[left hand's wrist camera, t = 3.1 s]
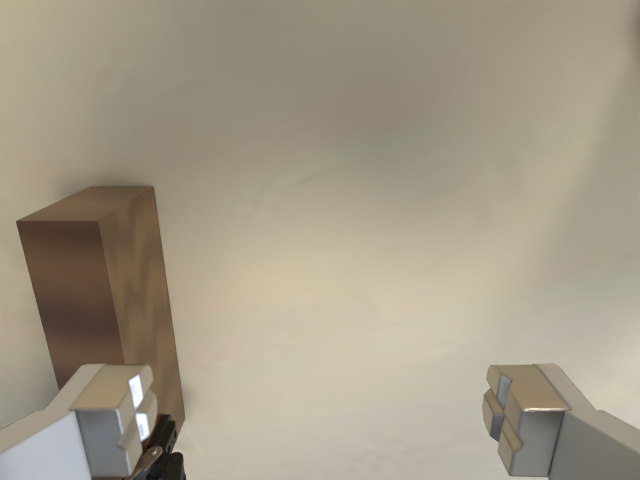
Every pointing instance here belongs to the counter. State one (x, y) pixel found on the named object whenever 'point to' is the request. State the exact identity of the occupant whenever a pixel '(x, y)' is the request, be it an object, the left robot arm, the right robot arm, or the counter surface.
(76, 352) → the bar
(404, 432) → the counter surface
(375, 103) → the counter surface
